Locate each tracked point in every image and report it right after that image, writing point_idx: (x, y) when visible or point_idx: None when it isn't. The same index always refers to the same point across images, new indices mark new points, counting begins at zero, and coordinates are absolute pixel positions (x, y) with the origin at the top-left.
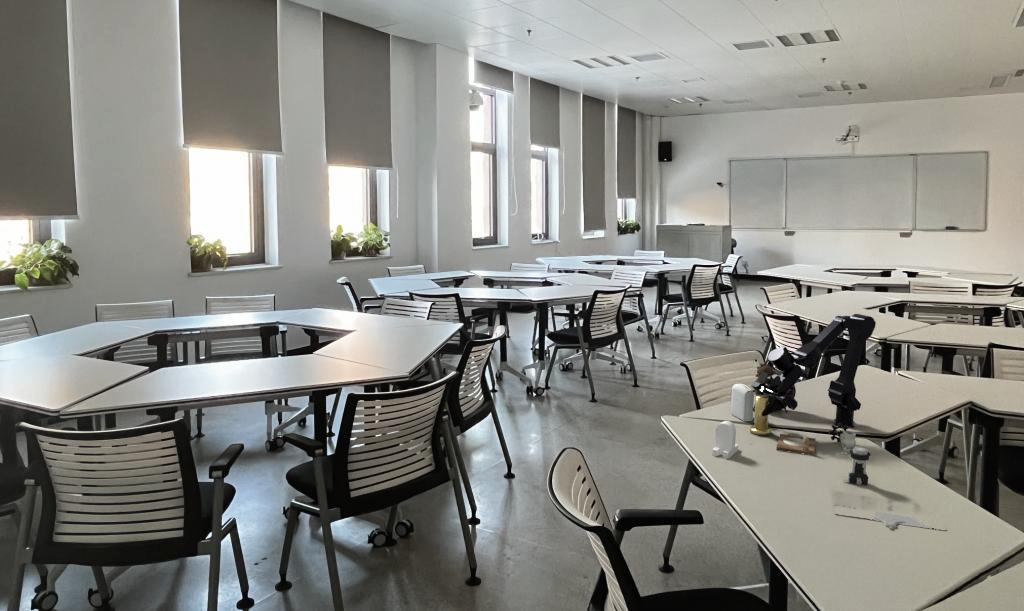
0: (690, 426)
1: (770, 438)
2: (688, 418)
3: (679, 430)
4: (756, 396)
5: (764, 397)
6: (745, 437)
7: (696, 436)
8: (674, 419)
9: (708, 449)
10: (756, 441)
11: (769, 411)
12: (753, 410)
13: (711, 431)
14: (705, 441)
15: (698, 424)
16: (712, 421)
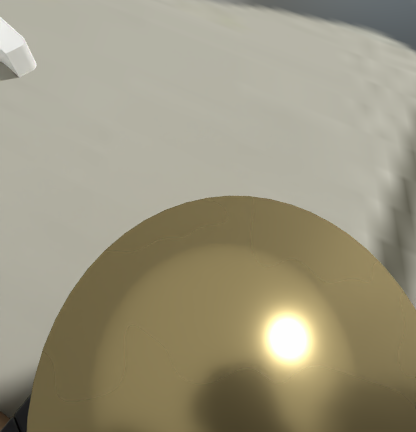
0: (308, 66)
1: None
2: (412, 99)
3: (260, 17)
4: (276, 220)
5: (150, 418)
6: (127, 217)
7: (184, 36)
8: (390, 52)
9: (24, 11)
10: (46, 246)
11: None
12: None
13: (240, 109)
14: (118, 39)
15: (335, 101)
16: (385, 172)
